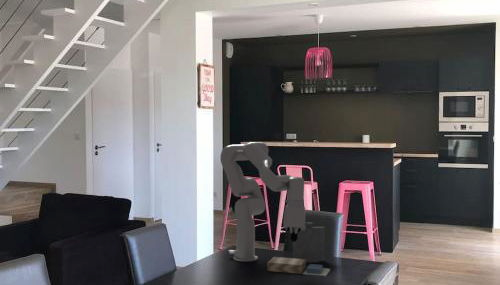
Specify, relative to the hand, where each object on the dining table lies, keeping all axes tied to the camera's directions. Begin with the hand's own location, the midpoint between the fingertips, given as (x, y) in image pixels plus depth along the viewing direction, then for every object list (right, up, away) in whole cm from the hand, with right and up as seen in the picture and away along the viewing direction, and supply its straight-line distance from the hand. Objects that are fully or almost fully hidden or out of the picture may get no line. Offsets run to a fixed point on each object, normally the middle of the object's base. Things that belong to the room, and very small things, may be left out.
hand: (293, 241), depth 258 cm
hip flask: (+9, -14, +17) cm, 24 cm away
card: (+10, -12, -3) cm, 15 cm away
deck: (-3, -14, +1) cm, 14 cm away
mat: (+11, -14, -3) cm, 18 cm away
